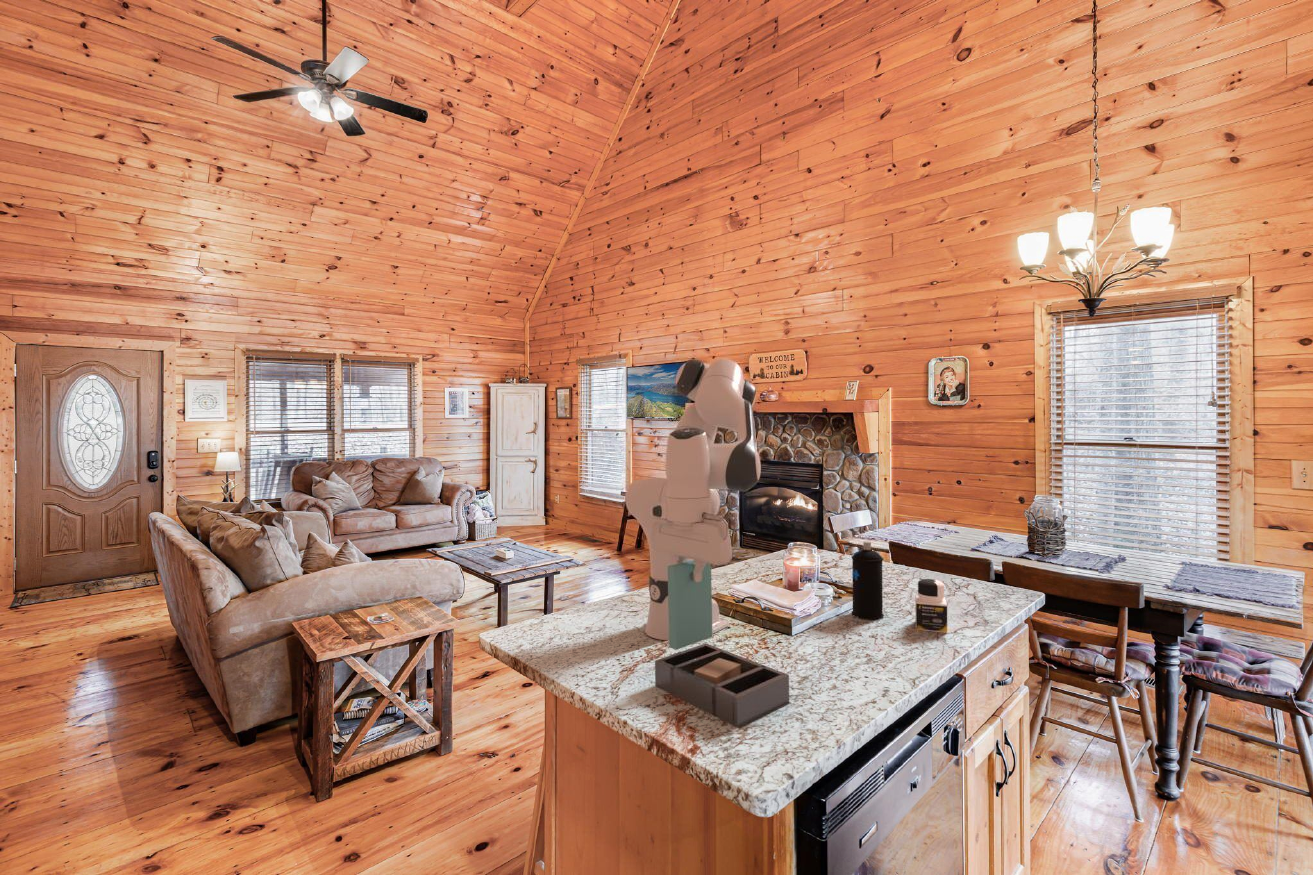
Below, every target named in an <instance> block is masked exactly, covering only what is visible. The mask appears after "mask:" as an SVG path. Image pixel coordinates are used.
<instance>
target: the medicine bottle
mask: <svg viewBox="0 0 1313 875" xmlns="http://www.w3.org/2000/svg"><path fill="white" fill-rule="evenodd" d="M914 605H915V607H914V608H915V610H914V611H915V612H914V613H915V619H914V620H915V629H916V630H917V631H924V632H932V633H940V634H941V633H942V634H943V633H944V634H947V633H948V603H947V601H946V597H945V584H944V583H943V582H942V581H940V580H937V579H933V578H924V579H920V580H918V581H917V594H916V595H915V604H914Z"/></svg>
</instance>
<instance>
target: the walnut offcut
mask: <svg viewBox="0 0 1313 875" xmlns="http://www.w3.org/2000/svg"><path fill="white" fill-rule="evenodd" d="M694 675H695V676H697V677H699V678H702V679H704V680H706V681H708V682H711V683H713V684H715V685H716V684H719V683H721V682H724V681H726V680H728V679H731V678H733V677H736V676H738V675H741V664H737V663H734V662H731V661H728V660H724V659H721V658H718V659H716V660H714V661H712V662H710V663H708V664H707V665H705V666H703V667H701V668H699V669H697V670H695V671H694Z"/></svg>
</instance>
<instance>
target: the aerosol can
mask: <svg viewBox="0 0 1313 875" xmlns="http://www.w3.org/2000/svg"><path fill="white" fill-rule="evenodd" d="M862 543H863V547H862V549H860V550H858V551H856V552H855V553H854V554H853V555H851V559H852V562H851V563H852V565H851V568H852V611H851V614H852V616H853V615H854V616H853V617H855V618H857V617H858V618H857V619H862V620H870V621H875V620H876V619H877V620H880V619H883V618H884V616H885V615H884V613H883V612H884V611H883V610H884V609H883V608H884V606H883V601H884V600H883V599H884V598H883V560H884V558H883V557H882V555H880V554H879V553H878V552H877V551H876V550H875V551H874V550H873V549H872V542H871V541H863V542H862ZM877 620H876V621H877Z"/></svg>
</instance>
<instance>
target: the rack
mask: <svg viewBox="0 0 1313 875" xmlns="http://www.w3.org/2000/svg"><path fill="white" fill-rule="evenodd" d="M718 658H721V659H724V660H728V661H731V662H734V663H737V664H741V675H738V676H736V677H733V678H731V679H728V680H726V681H724V682H721V683H719V684H716V685H715V684H713V683H711V682H708V681H706V680H704V679H702V678H699V677H697V676H695V675H694V671H695V670H697V669H699V668H701V667H703V666H705V665H707V664H708V663H710V662H712V661H714V660H716V659H718ZM654 678H655V684H654V685H655V686H654V687H655V688H658V689H660V690H661V691H664V692H666V693H667V694H670V695H672V696H674V697H676V698H678V699H680V700H682V701H684V702H686V703H687V704H690V705H691V706H694V707H696V708H697V709H700V710H702V711H704V712H706V713H708V714H709V715H712V716H713V717H715V718H718V719H719V720H721V721H724V722H725V723H727V724H730V725H731V726H733V727H736V728H737V729H740V730H741V729H742V728H745V727H746V726H748V725H750V724H753V723H754V722H756V721H758V720H760V719H762V718H764V717H766V716H768V715H770V714H772V713H775V712H776V711H778V710H781V709H782V708H785V707H786V706H789V705H791V704H792V702H790V675H789V674H788V673H785V672H782V671H779V670H778V669H774V668H772V667H770V666H767V665H764V664H761V663H759V662H756V661H755V660H751V659H749V658H746V657H743V656H740V655H738V654H735V653H733V652H730V651H727V650H725V649H721V648H720V647H717V646H714V645H712V644H709V643H703V644H699V645H697V646H694V647H691V648H688V649H686V650H682V651H679V652H677V653H673V654H671V655H667V656H665V657H662V658H659V659H656V660H654Z"/></svg>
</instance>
